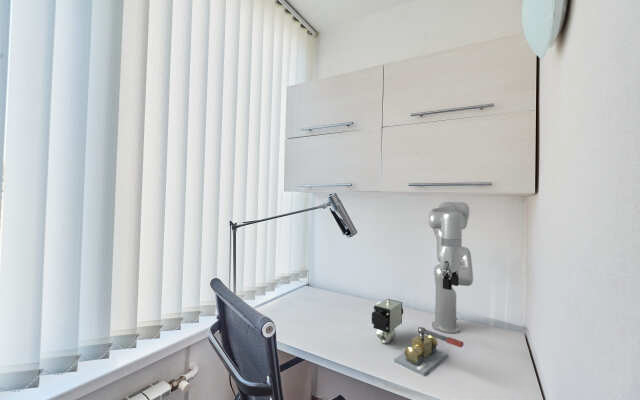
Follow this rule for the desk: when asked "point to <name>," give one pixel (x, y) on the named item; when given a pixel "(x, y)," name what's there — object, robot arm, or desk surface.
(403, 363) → the base board
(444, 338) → the lever
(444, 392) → the desk surface
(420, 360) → the valve pipe
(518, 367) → the desk surface
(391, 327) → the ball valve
